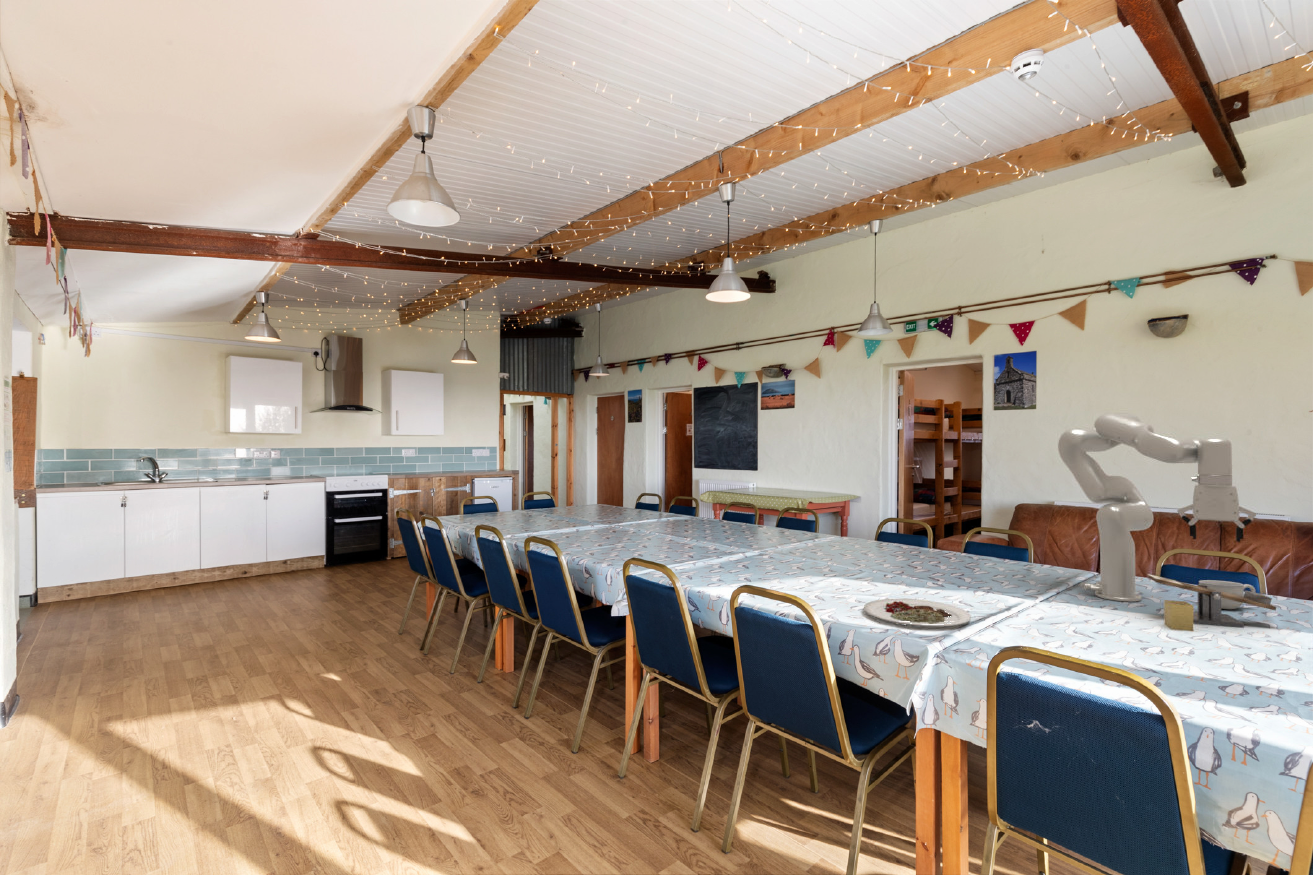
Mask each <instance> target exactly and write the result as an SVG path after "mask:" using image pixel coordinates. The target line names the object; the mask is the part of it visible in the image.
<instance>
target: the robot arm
mask: <svg viewBox="0 0 1313 875" xmlns="http://www.w3.org/2000/svg"><path fill="white" fill-rule="evenodd" d="M1120 445H1125V446H1128V447H1131V448H1134V449H1135V451H1137V452H1138V453H1139V454H1141V455H1143V456H1145V457H1146V458H1147V457H1148V458H1150V459H1154V460H1157V461H1159V462H1162V463H1167V464H1197V475H1195V476H1191V482H1195V483H1197V485H1194V488H1193V496H1192V504H1189V505H1186V506H1183V507H1181V508H1178V509H1177V510H1176V512H1177V514H1178V515H1179V516H1180V517H1181V518H1180V519H1181V520H1183V521H1184V522H1185V523H1187V525H1189V536H1190V537H1192V539H1193V540H1196V539H1197V525H1196V523H1197V522H1198V521H1199V520H1200V521H1213V522H1214V521H1215V522H1216V521H1218V522H1233V523H1234V524H1235V525H1236V527H1235V541H1236V542H1237V543H1241V540H1244V528H1246V527H1247V526H1248V525H1250V524H1251V523H1252V522H1253V520H1254V519H1255V517H1257V513H1256V512H1254V511H1251V510H1250V509H1246V508H1245V507H1242V506H1240V501H1239V500H1240V499H1239V494H1238V490H1237V487H1236V486H1234V485H1233V457H1232V456H1233V454H1232V452H1233V451H1232V449H1233V448H1232V442H1231V441H1230V440H1229V439H1227V438H1226V439H1225V438H1203V439H1201V438H1181V437H1180V438H1179V437H1178V438H1177V437H1176V438H1171V437H1167V436H1164V435H1160V434H1157V433H1155V430H1154V428H1153V426H1152V425H1151V424H1149V423H1147V422H1142V421H1141V420H1140V418H1139V417H1138V416H1136V415H1134V414H1132V413H1111V412H1110V413H1104V414H1102V415H1100V416H1098V417H1097V418H1096V419H1095V421H1094V424H1093V427H1077V428H1076V427H1075V428H1070V429H1068V430H1065V431H1064V432H1063V433H1062V434H1061V435H1060V437H1059V439H1058V442H1057V449H1058V453H1059V457H1060V458H1061V459H1060V460H1062V462H1063V463H1064V465H1065V466H1066V467H1067V468H1068V470H1069V471H1070V472H1071V474H1072V475H1073V477H1074V478H1075V481H1076V482H1077V483H1078V485H1079V486H1080V488H1081V490H1082V491H1083V493H1084V495H1085V496H1086V497H1087V499H1088V500H1089V501H1091V502H1092V503H1095V504H1104V505H1102V506H1101V507H1099V509H1098V510H1097V512H1096V515H1095V516H1096V523H1097V528H1098V533H1099V534H1098V535H1099V554H1100V556H1099V557H1100V562H1099V564H1100V566H1099V567H1100V568H1099V569H1100V580H1097V582H1095V583H1088V582H1087V583H1086V582H1084V583H1083V588H1084V589H1085V590H1091V591H1095V592H1094V596H1096V597H1099V598H1101V599H1104V600H1109V601H1117V602H1129V603H1131V602H1132V603H1133V602H1134V603H1135V602H1140V601H1142V596H1141V595H1140V594H1138V593H1136V546H1135V541H1134V539H1133V536H1132V534H1131V532H1133V531H1134V532H1135V531H1136V532H1139V531H1144V530H1147V529H1149V528H1150V527H1151V526H1152V525H1153V523H1154V512H1153V511H1152V509H1151V507H1150V506H1149V504H1148V503H1147V501H1146V500H1145V499H1144V497H1143V495H1142V494H1141V493H1140V491H1139V490H1138V488H1137V487H1136V485H1135V484H1134V483H1133V482H1132V481H1131V480H1129V478H1127V477H1125V476H1121V475H1120V476H1119V475H1108V474H1106V473H1105V472H1104V470H1103V469H1102V467H1101V466H1100V464H1099V463H1098V462H1097V460H1095V459H1094V458H1093V457H1092V456H1090V455H1089V454H1088V453H1089V452H1090V453H1091V452H1092V453H1094V452H1095V453H1099V452H1100V453H1101V452H1106V451H1109V450H1112V449H1113V448H1116V447H1118V446H1120ZM1189 511H1192V518H1190V517H1188V516H1187V515H1186V514H1185V512H1189ZM1240 512H1241V513H1243V514H1245V515H1247V516H1246V519H1244V520H1242V521H1241V520H1239V519H1240Z"/></svg>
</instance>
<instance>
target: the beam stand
mask: <svg viewBox="0 0 1313 875" xmlns="http://www.w3.org/2000/svg"><path fill="white" fill-rule="evenodd" d="M1196 586H1200V587H1204V588H1207V585H1199V584H1196ZM1221 599H1222V597H1221V592H1219V591H1211V595H1207V594H1203V593H1199V592H1197V611H1193V625H1205V626H1206V625H1208V626H1217V627H1218V626H1219V627H1231V628H1233V627H1234V628H1242V629H1243V628H1245V625H1244V622H1242V621H1240V620H1238V619H1236V618H1235V617H1232V616H1231V615H1229V614H1226V613H1222V609H1221Z"/></svg>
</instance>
